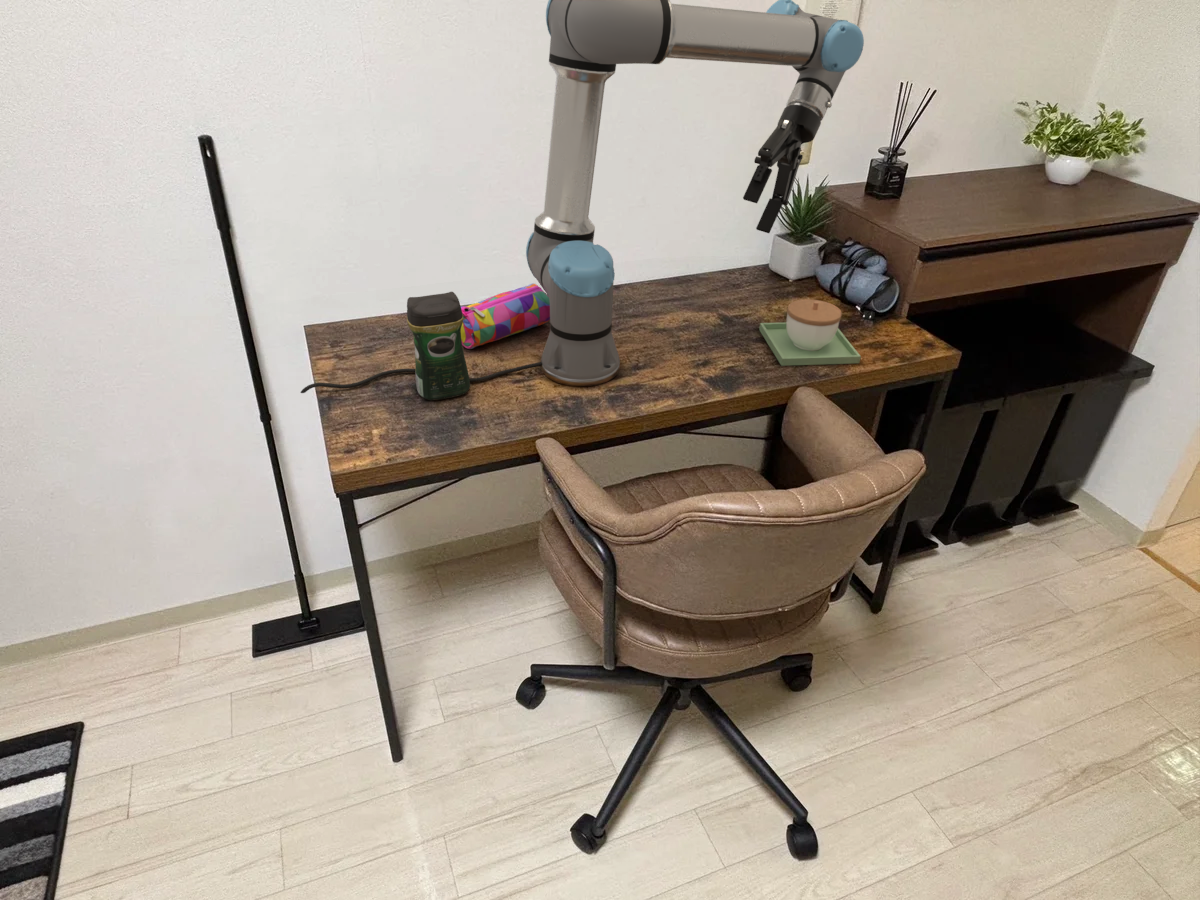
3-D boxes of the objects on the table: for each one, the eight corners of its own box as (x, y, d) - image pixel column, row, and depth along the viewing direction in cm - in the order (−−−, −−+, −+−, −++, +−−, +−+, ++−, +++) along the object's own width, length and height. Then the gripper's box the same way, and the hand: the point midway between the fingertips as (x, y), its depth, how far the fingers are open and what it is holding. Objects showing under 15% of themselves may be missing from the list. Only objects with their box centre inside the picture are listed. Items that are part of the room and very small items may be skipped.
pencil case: (472, 359, 152) (469, 317, 147) (446, 342, 158) (442, 301, 153) (557, 328, 165) (557, 288, 160) (530, 313, 170) (529, 274, 165)
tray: (781, 365, 153) (782, 358, 152) (759, 329, 166) (760, 322, 166) (859, 363, 155) (861, 356, 154) (831, 327, 168) (832, 321, 167)
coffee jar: (464, 375, 147) (456, 284, 136) (474, 396, 141) (466, 301, 130) (413, 384, 144) (400, 290, 133) (421, 405, 138) (408, 309, 127)
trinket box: (830, 334, 164) (839, 293, 159) (837, 357, 156) (847, 315, 150) (779, 331, 165) (786, 289, 160) (784, 354, 156) (792, 311, 151)
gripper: (815, 79, 134) (763, 192, 134) (828, 151, 157) (784, 247, 157) (775, 71, 137) (724, 181, 137) (793, 143, 160) (750, 236, 160)
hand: (756, 216), depth 147 cm, fingers open, 13 cm apart
